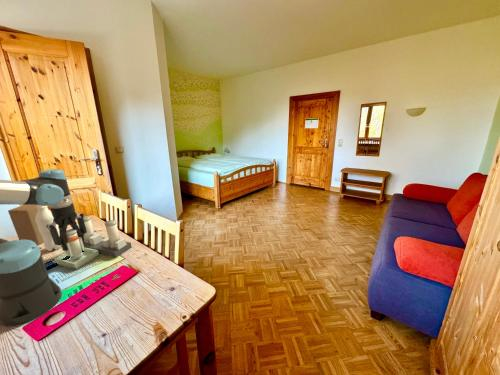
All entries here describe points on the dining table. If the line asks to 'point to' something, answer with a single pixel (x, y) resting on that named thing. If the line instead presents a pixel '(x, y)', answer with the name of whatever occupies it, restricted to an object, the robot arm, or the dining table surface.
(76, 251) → the marked fuse
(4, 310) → the robot arm
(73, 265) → the tray
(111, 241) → the cylinder
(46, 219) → the water bottle
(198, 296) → the dining table surface
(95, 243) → the block
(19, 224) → the wooden block
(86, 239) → the fuse far
